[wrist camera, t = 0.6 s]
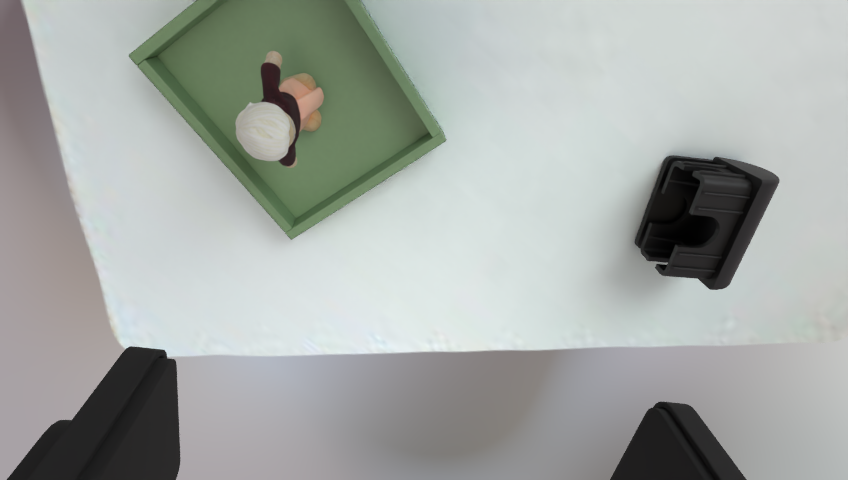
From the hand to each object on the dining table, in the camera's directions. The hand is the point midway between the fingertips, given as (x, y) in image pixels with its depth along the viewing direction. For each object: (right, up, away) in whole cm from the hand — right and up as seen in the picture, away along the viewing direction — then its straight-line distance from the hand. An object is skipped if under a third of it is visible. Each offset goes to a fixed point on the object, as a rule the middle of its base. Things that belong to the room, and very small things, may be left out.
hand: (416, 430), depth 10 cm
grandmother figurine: (-9, +15, +28) cm, 33 cm away
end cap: (+24, +7, +35) cm, 43 cm away
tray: (-9, +15, +28) cm, 34 cm away
